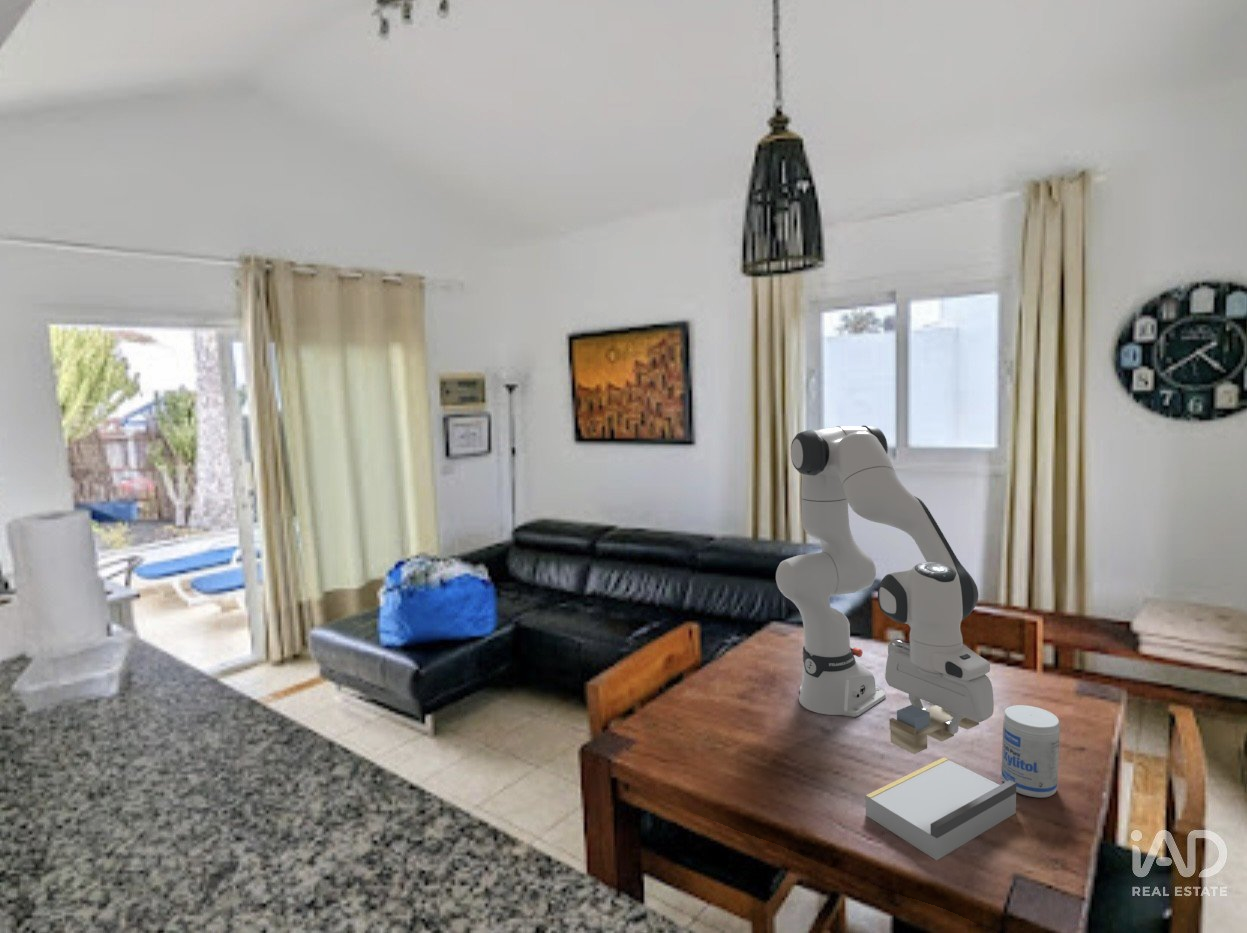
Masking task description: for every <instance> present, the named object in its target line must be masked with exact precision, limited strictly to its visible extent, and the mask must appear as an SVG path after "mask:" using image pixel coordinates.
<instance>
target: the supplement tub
mask: <svg viewBox="0 0 1247 933" xmlns="http://www.w3.org/2000/svg"><path fill="white" fill-rule="evenodd" d="M1002 721H1003V724H1002V743H1001V744H1002V747H1001V748H1002V749H1001V770H1000V771H1001V774H1000V775H1001V779H1002V782H1003V783H1005V782H1007V781H1009V780H1011V781H1013V782H1016V794H1017V793H1018V794H1020V795H1023V796H1027V797H1031V798H1039V799H1041V798H1042V799H1043V798H1048V797H1051V796H1054V795H1055V794H1056V792H1057V790H1058V778H1059V776H1058V774H1059V754H1060V731H1061V730H1060V729H1061V728H1060V720H1059V718H1058V717H1057V716H1056V715H1055V714H1054V713H1053V712H1051V711H1049V710H1046V709H1043V708H1041V707H1037V706H1032V705H1023V704H1018V705H1017V704H1016V705H1010V706H1008V707H1007V708H1005V709H1004V715H1003V720H1002Z"/></svg>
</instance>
